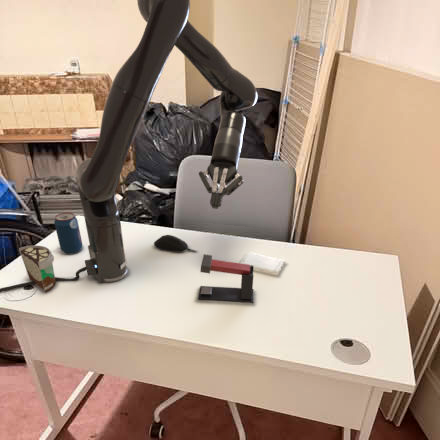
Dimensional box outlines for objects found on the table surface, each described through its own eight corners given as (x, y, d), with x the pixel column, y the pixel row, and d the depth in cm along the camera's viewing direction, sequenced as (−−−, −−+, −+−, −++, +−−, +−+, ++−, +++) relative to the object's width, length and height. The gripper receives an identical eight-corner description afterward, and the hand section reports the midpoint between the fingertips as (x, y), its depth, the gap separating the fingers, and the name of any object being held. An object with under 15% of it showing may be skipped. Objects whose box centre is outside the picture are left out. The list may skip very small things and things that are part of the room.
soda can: (87, 249, 130) (80, 215, 123) (68, 257, 126) (60, 222, 119) (75, 243, 134) (68, 209, 127) (57, 250, 129) (48, 216, 123)
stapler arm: (200, 272, 102) (201, 265, 101) (202, 260, 107) (203, 254, 106) (249, 279, 102) (250, 272, 101) (249, 267, 107) (250, 260, 106)
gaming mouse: (191, 256, 128) (191, 245, 125) (150, 248, 132) (149, 237, 130) (199, 247, 133) (199, 237, 130) (159, 240, 137) (158, 229, 134)
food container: (68, 286, 112) (60, 255, 107) (47, 294, 109) (39, 263, 103) (47, 270, 119) (39, 240, 114) (27, 277, 115) (17, 247, 110)
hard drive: (239, 263, 122) (277, 271, 118) (248, 251, 128) (285, 259, 124) (238, 267, 123) (277, 276, 119) (247, 255, 129) (284, 264, 125)
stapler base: (197, 301, 107) (197, 273, 102) (200, 289, 112) (200, 261, 107) (253, 304, 107) (255, 276, 101) (253, 292, 111) (255, 264, 106)
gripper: (201, 139, 107) (188, 198, 104) (249, 143, 104) (236, 204, 102) (207, 154, 114) (194, 210, 112) (251, 158, 112) (240, 215, 109)
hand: (214, 207), depth 107 cm, fingers closed
